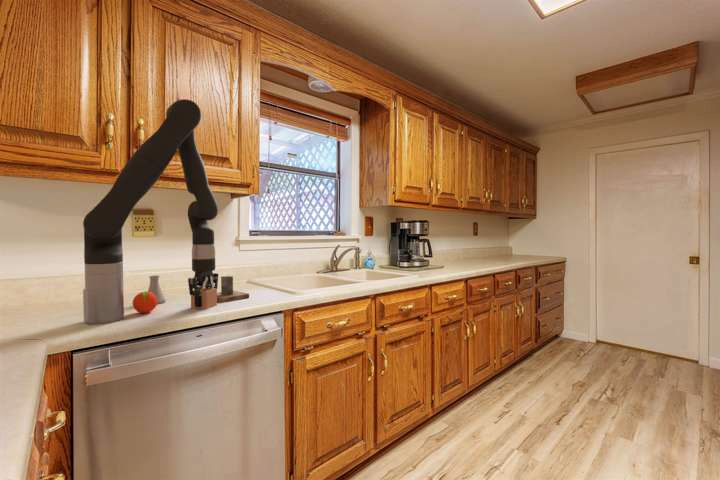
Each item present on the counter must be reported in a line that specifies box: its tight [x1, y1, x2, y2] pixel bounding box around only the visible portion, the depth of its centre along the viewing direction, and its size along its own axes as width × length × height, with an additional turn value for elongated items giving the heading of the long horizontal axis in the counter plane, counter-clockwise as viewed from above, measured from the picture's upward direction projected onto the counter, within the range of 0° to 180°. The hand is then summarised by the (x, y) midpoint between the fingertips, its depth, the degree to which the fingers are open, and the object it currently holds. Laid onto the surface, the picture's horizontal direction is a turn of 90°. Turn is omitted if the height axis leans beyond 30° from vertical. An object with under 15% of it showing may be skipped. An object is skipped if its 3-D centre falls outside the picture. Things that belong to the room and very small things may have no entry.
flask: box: [147, 274, 167, 305], centre depth 129 cm, size 7×7×10 cm
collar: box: [190, 287, 218, 309], centre depth 123 cm, size 6×6×6 cm
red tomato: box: [132, 291, 158, 314], centre depth 113 cm, size 8×7×7 cm
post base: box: [217, 275, 250, 303], centre depth 138 cm, size 12×12×8 cm
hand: (204, 304), depth 123 cm, fingers closed on collar, 6 cm apart
